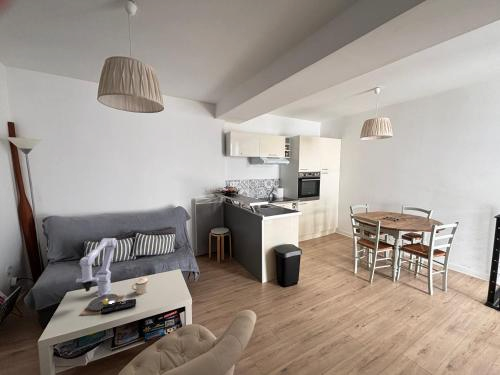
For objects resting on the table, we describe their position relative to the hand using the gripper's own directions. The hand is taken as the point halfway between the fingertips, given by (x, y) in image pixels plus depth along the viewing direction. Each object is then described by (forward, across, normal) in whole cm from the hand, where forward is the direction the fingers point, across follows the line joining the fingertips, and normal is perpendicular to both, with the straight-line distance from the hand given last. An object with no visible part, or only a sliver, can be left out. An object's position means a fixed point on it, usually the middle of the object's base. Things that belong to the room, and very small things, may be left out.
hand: (88, 290), depth 153 cm
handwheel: (+9, +12, -3) cm, 15 cm away
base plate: (+10, +12, -3) cm, 16 cm away
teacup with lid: (+10, +32, +12) cm, 36 cm away
